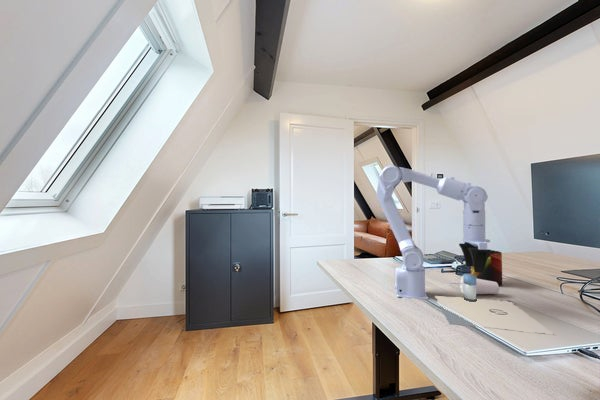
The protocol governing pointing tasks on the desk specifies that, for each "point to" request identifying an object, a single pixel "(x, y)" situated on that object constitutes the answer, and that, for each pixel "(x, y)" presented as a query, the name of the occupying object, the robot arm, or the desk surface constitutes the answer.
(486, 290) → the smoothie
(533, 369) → the desk surface
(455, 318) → the desk mat
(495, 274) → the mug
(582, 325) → the desk surface
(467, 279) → the marker
